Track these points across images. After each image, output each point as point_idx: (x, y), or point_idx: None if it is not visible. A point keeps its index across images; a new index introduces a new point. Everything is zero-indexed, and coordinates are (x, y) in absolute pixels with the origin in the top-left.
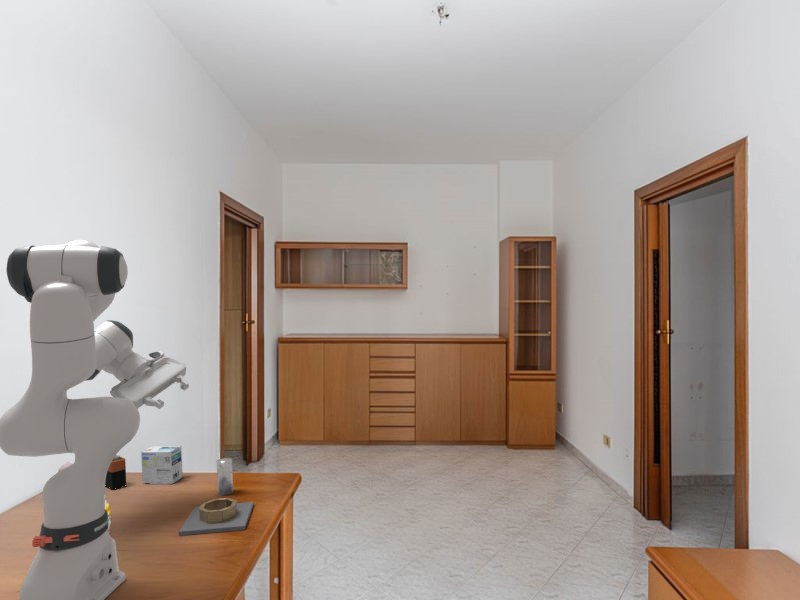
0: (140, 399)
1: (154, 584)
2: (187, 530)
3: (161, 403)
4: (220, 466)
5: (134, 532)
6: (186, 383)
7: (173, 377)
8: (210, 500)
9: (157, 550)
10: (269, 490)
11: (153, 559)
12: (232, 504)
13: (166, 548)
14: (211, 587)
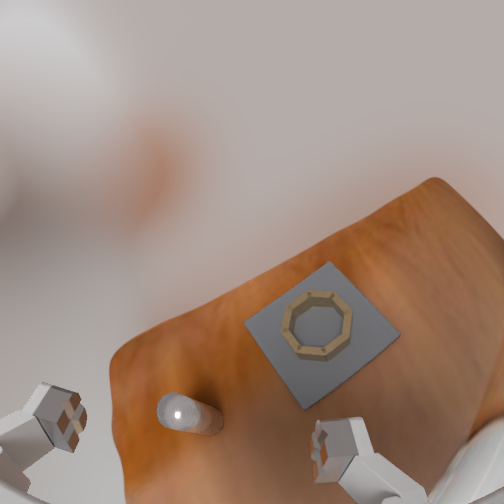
0: (478, 499)
1: (484, 238)
2: (389, 325)
3: (344, 418)
4: (194, 409)
5: (430, 422)
6: (41, 392)
7: (9, 485)
8: (306, 353)
9: (447, 318)
10: (179, 348)
11: (463, 296)
12: (304, 298)
13: (436, 312)
14: (442, 189)
